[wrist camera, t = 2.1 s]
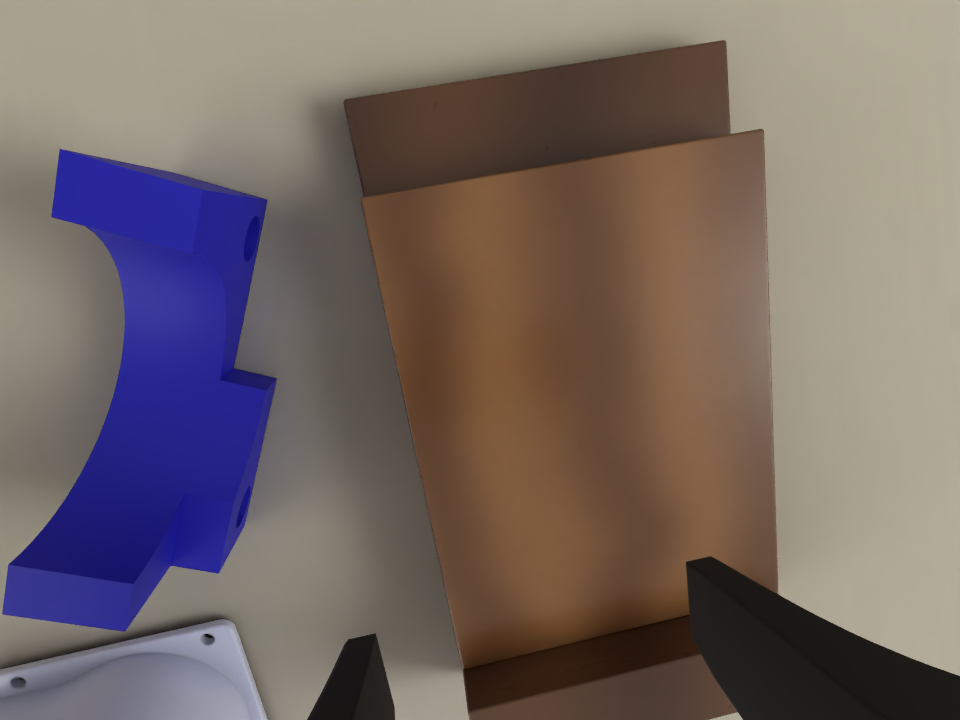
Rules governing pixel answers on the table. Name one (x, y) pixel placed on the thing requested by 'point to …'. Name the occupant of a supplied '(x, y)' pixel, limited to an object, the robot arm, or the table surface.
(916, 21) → the table surface
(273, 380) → the blue curved notched block
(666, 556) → the step shelf
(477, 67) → the table surface
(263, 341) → the table surface
